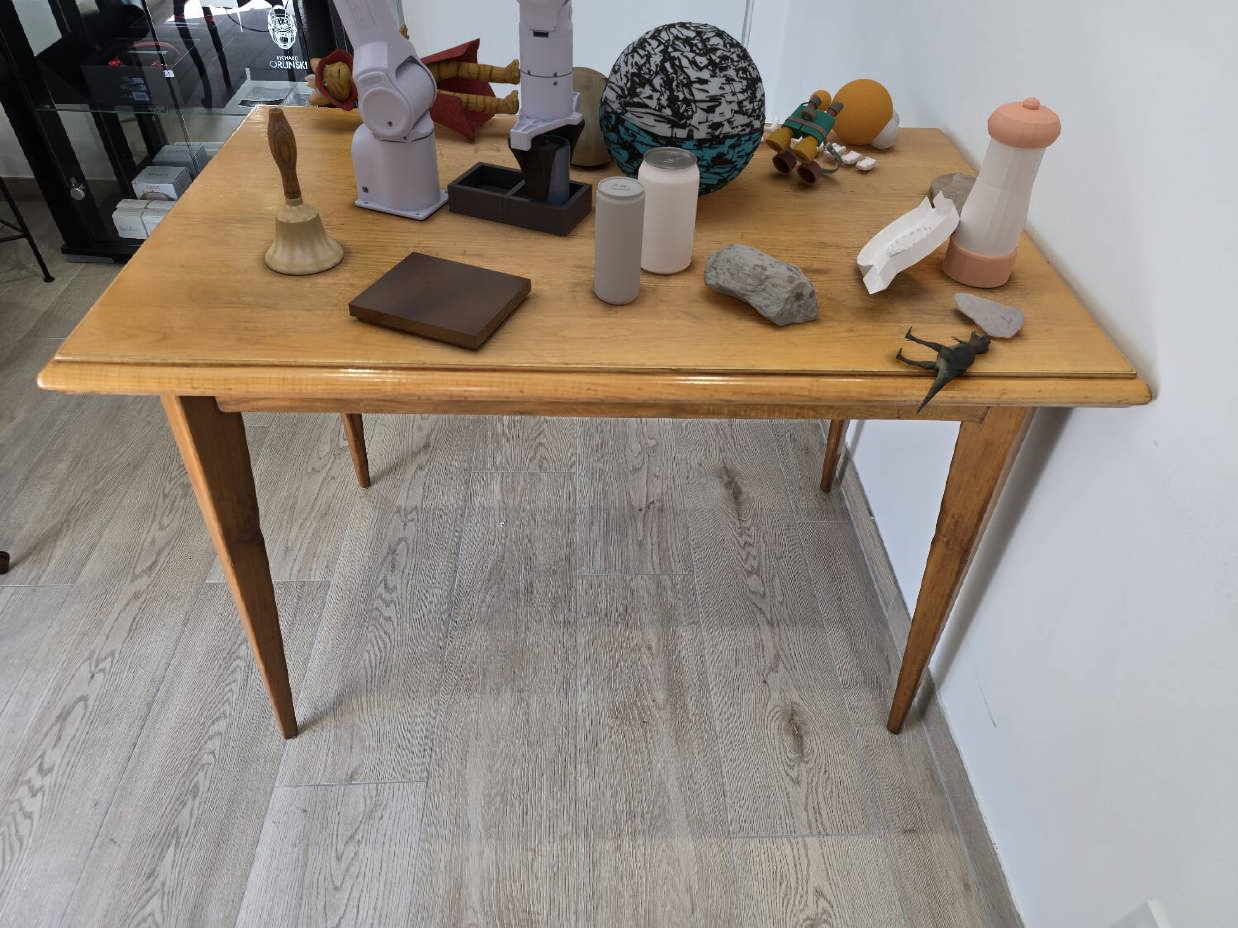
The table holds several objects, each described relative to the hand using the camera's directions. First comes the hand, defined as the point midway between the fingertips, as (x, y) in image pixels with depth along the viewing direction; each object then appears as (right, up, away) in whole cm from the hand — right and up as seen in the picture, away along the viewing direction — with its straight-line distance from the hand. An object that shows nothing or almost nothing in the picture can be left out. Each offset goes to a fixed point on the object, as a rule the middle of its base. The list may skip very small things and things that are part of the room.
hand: (548, 189), depth 105 cm
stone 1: (+53, -1, +8) cm, 54 cm away
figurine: (-5, +19, +20) cm, 28 cm away
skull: (+2, +13, +21) cm, 24 cm away
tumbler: (0, -1, +1) cm, 1 cm away
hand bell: (-26, -10, -8) cm, 29 cm away
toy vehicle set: (+39, +12, +18) cm, 44 cm away
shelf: (-9, -17, -15) cm, 24 cm away
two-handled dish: (+41, -8, -7) cm, 42 cm away
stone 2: (+46, -18, -12) cm, 51 cm away
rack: (-4, -2, +3) cm, 5 cm away
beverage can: (+8, -15, -11) cm, 20 cm away
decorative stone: (+23, -15, -11) cm, 30 cm away
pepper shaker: (+49, -11, -5) cm, 50 cm away
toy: (+34, +16, +23) cm, 44 cm away
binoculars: (+32, +6, +14) cm, 36 cm away
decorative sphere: (+16, +2, +9) cm, 18 cm away
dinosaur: (+35, -21, -20) cm, 46 cm away
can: (+13, -10, -5) cm, 17 cm away
